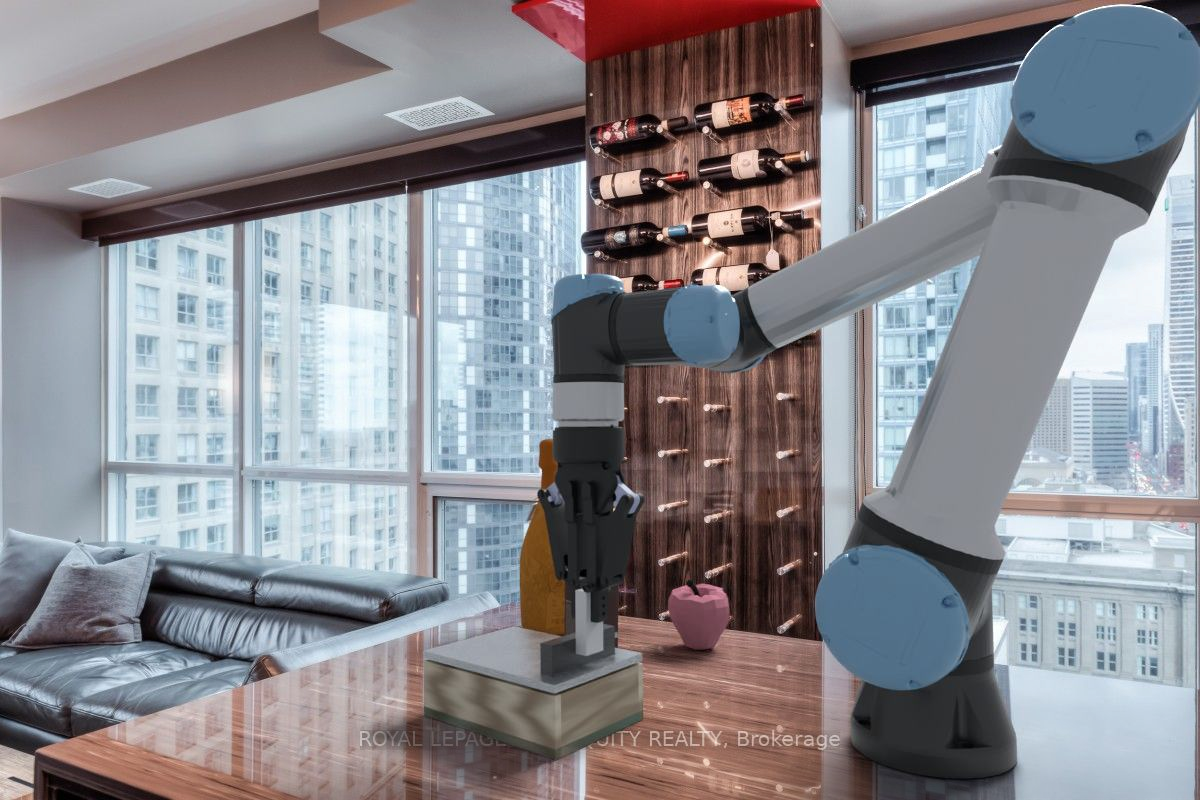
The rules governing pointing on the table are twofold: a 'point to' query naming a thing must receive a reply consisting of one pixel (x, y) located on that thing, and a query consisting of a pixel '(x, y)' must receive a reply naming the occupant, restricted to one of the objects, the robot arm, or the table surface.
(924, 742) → the robot arm
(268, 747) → the table surface
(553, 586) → the wine bottle
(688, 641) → the apple
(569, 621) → the box
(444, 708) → the case
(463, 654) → the cover plate
